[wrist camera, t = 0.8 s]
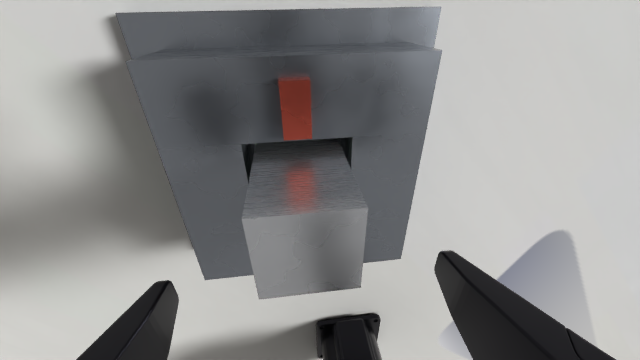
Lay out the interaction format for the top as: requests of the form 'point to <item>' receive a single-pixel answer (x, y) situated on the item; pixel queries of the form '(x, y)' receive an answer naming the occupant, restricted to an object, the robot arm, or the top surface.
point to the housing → (284, 108)
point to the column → (304, 219)
